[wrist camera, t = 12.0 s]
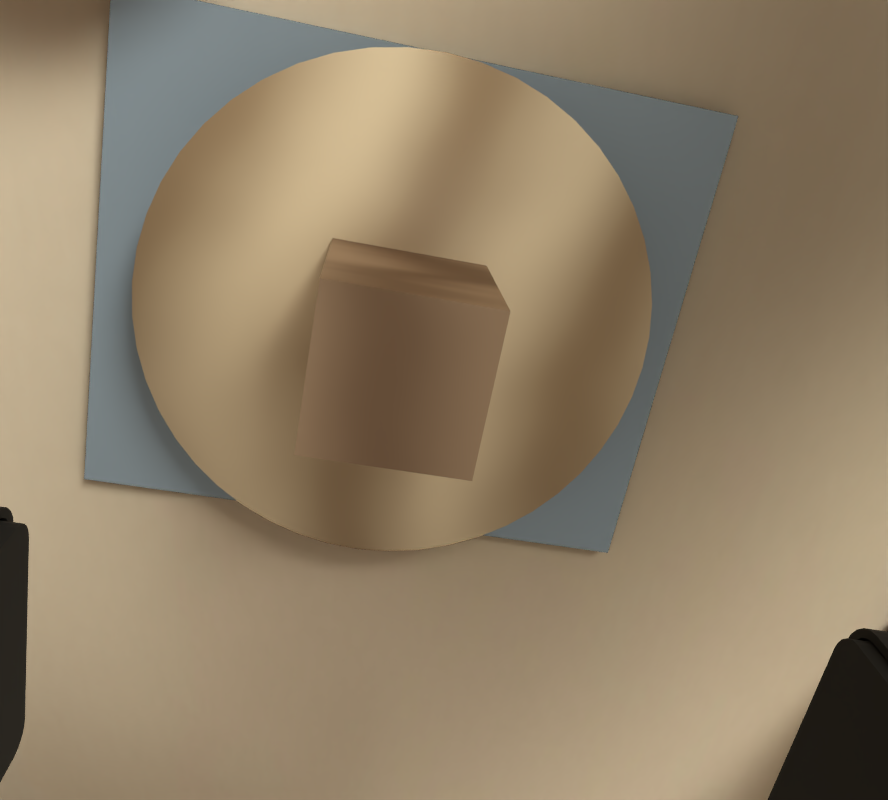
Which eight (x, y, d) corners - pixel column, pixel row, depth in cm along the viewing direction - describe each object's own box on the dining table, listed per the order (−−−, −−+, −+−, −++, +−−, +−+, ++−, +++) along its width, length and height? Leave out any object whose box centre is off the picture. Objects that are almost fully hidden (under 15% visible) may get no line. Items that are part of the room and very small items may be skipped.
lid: (692, 106, 25) (800, 118, 18) (569, 547, 30) (620, 678, 24) (170, -4, 23) (86, -33, 17) (134, 487, 28) (58, 611, 22)
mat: (731, 115, 26) (738, 115, 25) (604, 545, 31) (607, 552, 30) (116, -16, 23) (111, -18, 23) (88, 472, 28) (84, 479, 28)
